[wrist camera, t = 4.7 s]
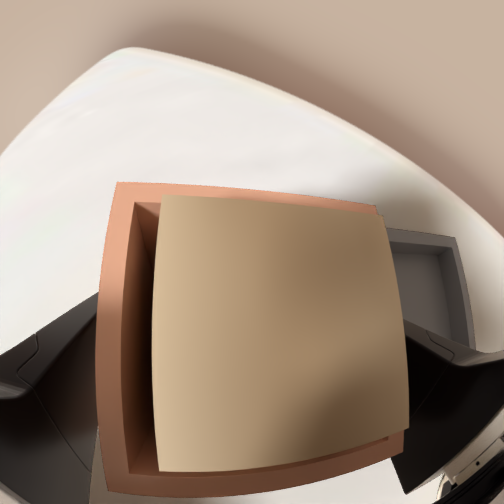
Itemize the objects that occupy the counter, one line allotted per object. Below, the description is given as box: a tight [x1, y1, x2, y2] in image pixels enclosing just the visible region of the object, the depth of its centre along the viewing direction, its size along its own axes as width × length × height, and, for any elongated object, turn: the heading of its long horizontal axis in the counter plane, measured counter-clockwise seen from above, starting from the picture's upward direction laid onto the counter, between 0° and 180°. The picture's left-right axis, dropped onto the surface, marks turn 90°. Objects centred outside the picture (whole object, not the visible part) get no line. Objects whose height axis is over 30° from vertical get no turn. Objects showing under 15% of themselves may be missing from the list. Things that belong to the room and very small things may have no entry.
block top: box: [152, 194, 409, 472], centre depth 6 cm, size 4×4×4 cm
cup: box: [95, 182, 404, 498], centre depth 10 cm, size 6×6×11 cm
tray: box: [386, 228, 476, 350], centre depth 18 cm, size 12×12×2 cm
